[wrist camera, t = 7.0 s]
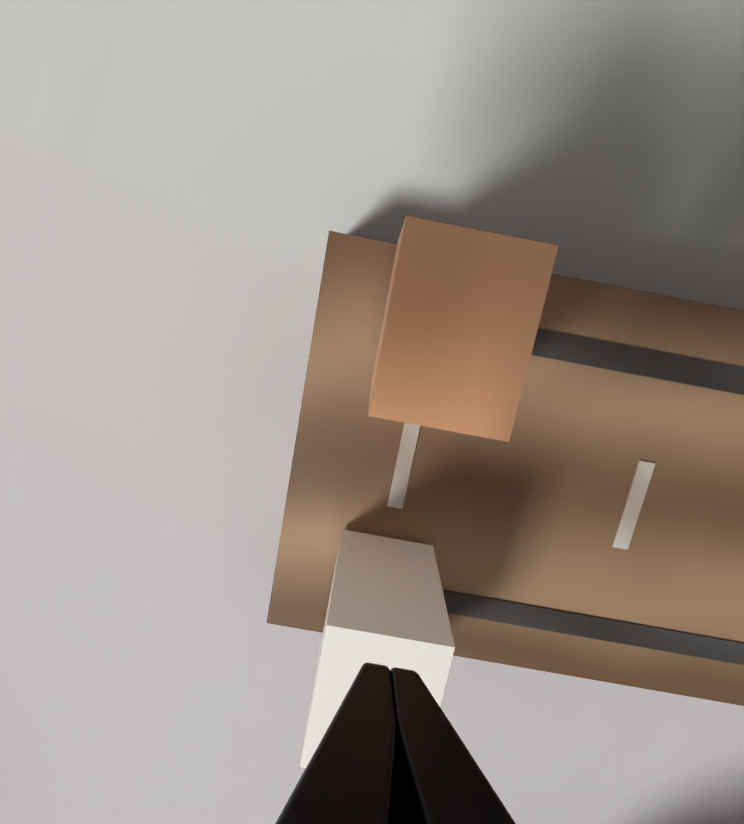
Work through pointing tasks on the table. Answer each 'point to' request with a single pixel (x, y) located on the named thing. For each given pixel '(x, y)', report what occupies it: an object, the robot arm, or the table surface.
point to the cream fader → (379, 623)
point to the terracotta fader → (459, 328)
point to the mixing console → (543, 486)
